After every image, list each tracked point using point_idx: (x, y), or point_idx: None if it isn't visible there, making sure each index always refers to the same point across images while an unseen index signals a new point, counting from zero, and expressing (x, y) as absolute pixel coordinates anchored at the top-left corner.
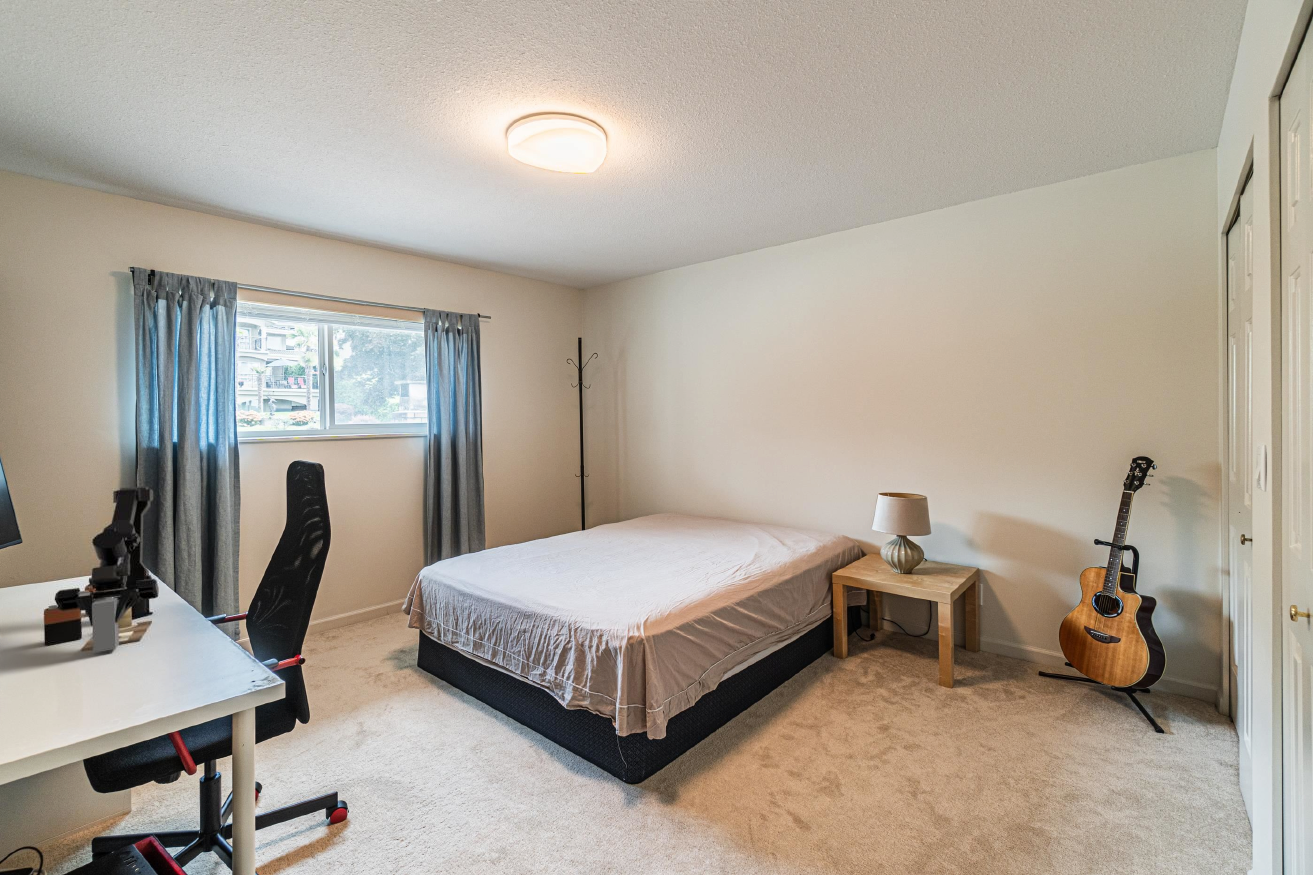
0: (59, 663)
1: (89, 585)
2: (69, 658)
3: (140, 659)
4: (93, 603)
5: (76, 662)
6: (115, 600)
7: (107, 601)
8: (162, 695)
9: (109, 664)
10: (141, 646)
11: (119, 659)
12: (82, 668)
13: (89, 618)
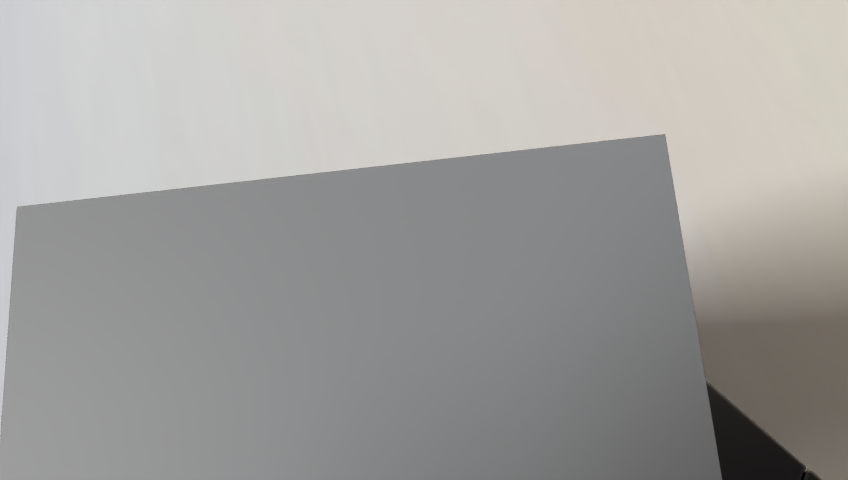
0: (782, 270)
1: None
2: (757, 398)
3: (163, 23)
4: (642, 217)
5: None
6: (27, 449)
7: (221, 299)
8: None
9: (349, 13)
10: None
11: (307, 107)
12: (519, 13)
13: None
